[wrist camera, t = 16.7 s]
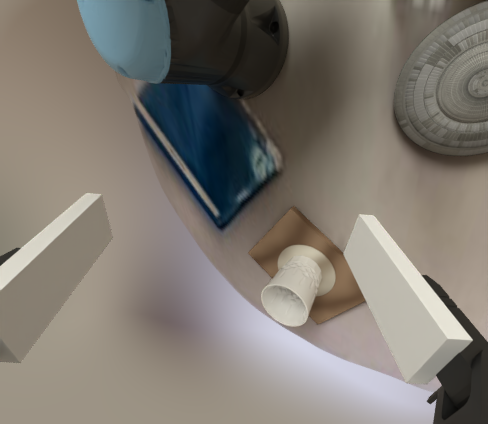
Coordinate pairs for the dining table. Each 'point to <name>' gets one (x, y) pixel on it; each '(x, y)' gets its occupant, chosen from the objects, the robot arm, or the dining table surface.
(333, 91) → the dining table surface
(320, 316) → the walnut board
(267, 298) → the white cup
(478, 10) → the flying saucer
